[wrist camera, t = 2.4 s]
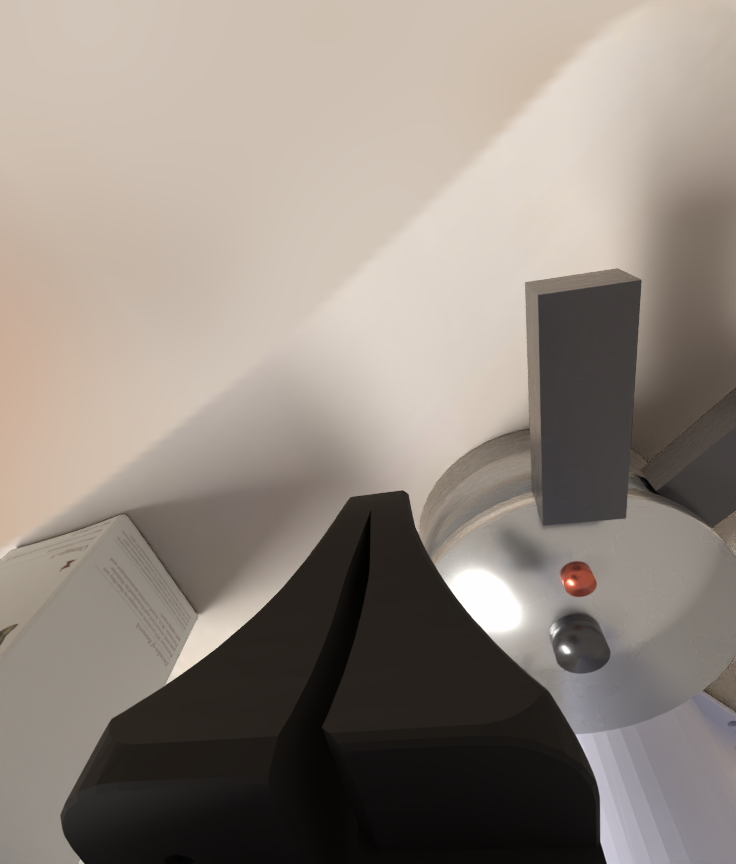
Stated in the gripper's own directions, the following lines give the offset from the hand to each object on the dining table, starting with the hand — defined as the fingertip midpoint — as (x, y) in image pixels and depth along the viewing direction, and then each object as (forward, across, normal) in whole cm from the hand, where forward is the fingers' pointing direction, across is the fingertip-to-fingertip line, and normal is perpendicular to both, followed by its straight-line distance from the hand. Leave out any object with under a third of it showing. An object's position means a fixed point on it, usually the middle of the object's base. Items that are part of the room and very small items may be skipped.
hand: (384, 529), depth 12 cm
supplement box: (+10, +17, +9) cm, 21 cm away
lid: (+5, -5, +5) cm, 9 cm away
